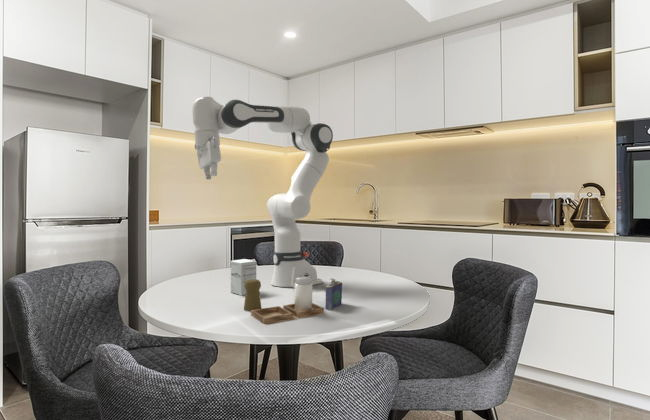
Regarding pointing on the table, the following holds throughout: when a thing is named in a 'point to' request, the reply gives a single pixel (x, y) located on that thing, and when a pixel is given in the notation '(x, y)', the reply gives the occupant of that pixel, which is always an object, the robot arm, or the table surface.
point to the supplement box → (241, 274)
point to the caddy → (284, 313)
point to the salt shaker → (303, 293)
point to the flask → (333, 294)
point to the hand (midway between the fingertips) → (211, 177)
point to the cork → (252, 295)
